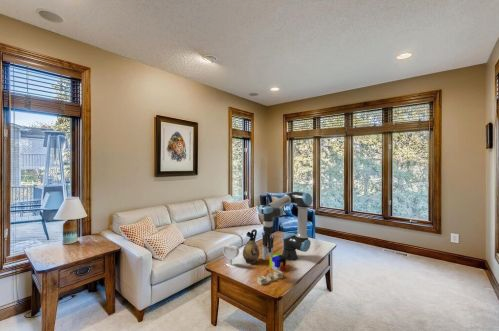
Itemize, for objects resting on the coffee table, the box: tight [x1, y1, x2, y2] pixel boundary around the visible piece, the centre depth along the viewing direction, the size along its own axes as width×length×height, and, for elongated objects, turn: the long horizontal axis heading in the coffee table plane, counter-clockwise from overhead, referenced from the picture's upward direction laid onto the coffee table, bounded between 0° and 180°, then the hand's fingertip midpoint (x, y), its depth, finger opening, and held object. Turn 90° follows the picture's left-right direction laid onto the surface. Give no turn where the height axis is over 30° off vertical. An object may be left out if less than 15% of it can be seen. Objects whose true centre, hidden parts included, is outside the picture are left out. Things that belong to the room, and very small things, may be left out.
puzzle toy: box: [269, 253, 287, 272], centre depth 207 cm, size 10×10×10 cm
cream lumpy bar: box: [256, 270, 284, 286], centre depth 186 cm, size 22×5×4 cm, turn 124°
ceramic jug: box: [242, 228, 260, 264], centre depth 221 cm, size 17×15×30 cm
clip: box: [261, 244, 274, 260], centre depth 189 cm, size 9×3×10 cm, turn 122°
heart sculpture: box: [222, 244, 240, 269], centre depth 212 cm, size 16×5×18 cm, turn 59°
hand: (267, 255), depth 189 cm, fingers closed on clip, 3 cm apart
